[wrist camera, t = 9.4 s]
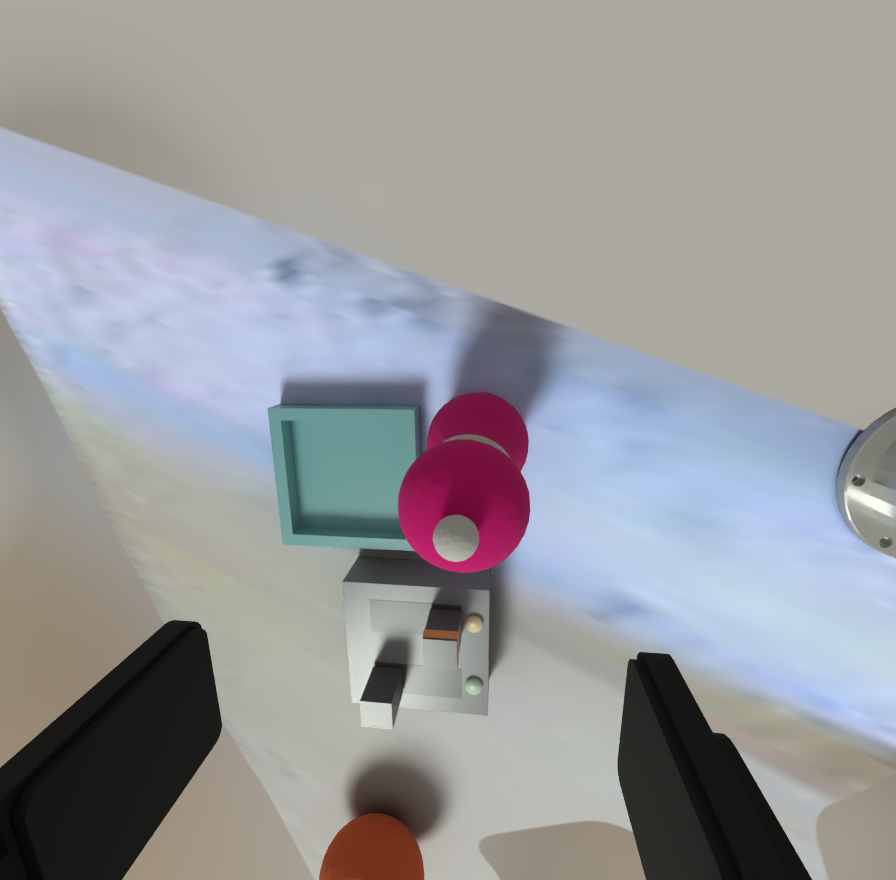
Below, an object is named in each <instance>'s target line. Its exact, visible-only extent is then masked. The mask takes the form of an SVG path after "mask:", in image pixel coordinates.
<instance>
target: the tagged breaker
mask: <svg viewBox="0 0 896 880" xmlns="http://www.w3.org/2000/svg"><path fill="white" fill-rule="evenodd" d="M460 644H461V610H448V609H433V608H430V612H429V616H428V620H427V623H426V627H425V629H424V632H423V636H422V645H423V667H430V668H442V669H454V670H457V668H458V664H459V651H460Z"/></svg>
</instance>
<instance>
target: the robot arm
mask: <svg viewBox="0 0 896 880" xmlns="http://www.w3.org/2000/svg"><path fill="white" fill-rule="evenodd" d="M836 498H837V504H838V509H839V511H840V514H841V516H842V518H843V520H844V522H845V524H846V525H847V526H848V528H849V529H850V530H851V531H852V533H853V534H854V535H856V536H857V537H858V538H859V539H860V540H862V541H863V542H864V543H866V544H867V545H869V546H871V547H872V548H874V549H876V550H877V551H879V552H881V553H884V554H886V555H889V556H891V557H894V558H896V408H895V409H893V410H891V411H889V412H887V413H886V414H884V415H883V416H881V417H880V418H879V419H877V420H876V421H874V422H873V423H872V424H871V425H870V426H869V427H868V428H866V429H865V430H864V431H863V432H862V433H861V434H860V435H859V436H858V438H857V439H856V440H855V442H854V443H853V444H852V446H851V447H850V448H849V450H848V452H847V454H846V456H845V458H844V460H843V462H842V464H841V466H840V470H839V473H838V477H837V484H836ZM221 728H222V721H221V715H220V709H219V703H218V697H217V691H216V685H215V679H214V673H213V668H212V662H211V656H210V650H209V644H208V638H207V633H206V631H205V630H203V629H202V627H201V625H200V624H199V623H198V622H192V621H178V620H173V621H169V622H168V623H166V624H165V625H164V626H162V627H161V628H160V629H159V630H158V631H157V632H156V633H154V634H153V635H152V636H151V637H150V638H149V639H148V640H146V641H145V642H144V643H143V644H142V645H141V646H140V647H138V648H137V649H136V650H135V651H134V652H133V653H132V654H130V655H129V656H128V657H127V658H126V659H125V660H124V661H122V662H121V663H120V664H119V665H118V666H117V667H115V668H114V669H113V670H112V671H111V672H110V673H109V674H107V675H106V676H105V677H104V678H103V679H102V680H101V681H100V682H98V683H97V684H96V685H95V686H94V687H93V688H92V689H90V690H89V691H88V692H87V693H86V694H85V695H83V696H82V697H81V698H80V699H79V700H78V701H76V702H75V703H74V704H73V705H72V706H71V707H70V708H68V709H67V710H66V711H65V712H64V713H63V714H62V715H60V716H59V717H58V718H57V719H56V720H55V721H53V722H52V723H51V724H50V725H49V726H48V727H47V728H45V729H44V730H43V731H42V732H41V733H40V734H39V735H38V736H36V737H35V738H34V739H33V740H32V741H31V742H29V743H28V744H27V745H26V746H25V747H24V748H23V749H21V750H20V751H19V752H18V753H17V754H16V755H14V756H13V757H12V758H11V759H10V760H9V761H8V762H7V763H5V764H4V765H3V766H2V767H1V768H0V880H122V879H123V877H124V876H125V874H126V873H127V871H128V870H129V869H130V867H131V866H132V864H133V863H134V861H135V860H136V858H137V857H138V855H139V854H140V852H141V851H142V850H143V848H144V847H145V845H146V844H147V842H148V841H149V839H150V838H151V837H152V835H153V834H154V832H155V831H156V829H157V828H158V826H159V825H160V824H161V822H162V821H163V819H164V818H165V816H166V815H167V813H168V812H169V811H170V809H171V808H172V806H173V805H174V803H175V802H176V800H177V799H178V797H179V796H180V794H181V793H182V792H183V790H184V789H185V787H186V786H187V784H188V783H189V781H190V780H191V779H192V777H193V776H194V774H195V773H196V771H197V770H198V768H199V767H200V766H201V764H202V763H203V761H204V759H205V758H206V756H207V755H208V754H209V752H210V751H211V750H212V748H213V747H214V745H215V744H216V742H217V740H218V738H219V736H220V732H221ZM618 775H619V781H620V785H621V789H622V793H623V796H624V800H625V804H626V807H627V811H628V815H629V818H630V822H631V826H632V829H633V833H634V836H635V840H636V844H637V847H638V851H639V855H640V858H641V862H642V866H643V870H644V873H645V877H646V880H812V879H811V877H810V875H809V874H808V872H807V870H806V868H805V867H804V865H803V863H802V861H801V860H800V858H799V856H798V854H797V853H796V851H795V849H794V848H793V846H792V844H791V842H790V841H789V839H788V837H787V835H786V834H785V832H784V830H783V828H782V827H781V825H780V823H779V822H778V820H777V818H776V816H775V815H774V813H773V811H772V809H771V808H770V806H769V804H768V802H767V801H766V799H765V797H764V796H763V794H762V792H761V790H760V789H759V787H758V785H757V783H756V782H755V780H754V778H753V776H752V775H751V773H750V771H749V770H748V768H747V766H746V764H745V763H744V761H743V759H742V757H741V756H740V754H739V752H738V751H737V749H736V747H735V746H734V744H733V743H732V741H731V740H730V739H729V738H728V737H727V736H726V735H725V734H721V733H713V732H712V730H711V728H710V727H709V725H708V723H707V721H706V719H705V717H704V716H703V714H702V712H701V710H700V708H699V706H698V704H697V703H696V701H695V699H694V697H693V695H692V693H691V692H690V690H689V688H688V686H687V684H686V682H685V680H684V679H683V677H682V675H681V673H680V671H679V669H678V667H677V666H676V664H675V662H674V660H673V659H672V657H671V656H670V655H669V654H660V653H646V652H640V653H639V654H638V655H637V660H635V659H630V660H629V662H628V668H627V678H626V687H625V696H624V706H623V715H622V725H621V734H620V744H619V753H618Z"/></svg>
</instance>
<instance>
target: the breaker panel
mask: <svg viewBox="0 0 896 880" xmlns="http://www.w3.org/2000/svg"><path fill="white" fill-rule="evenodd" d="M490 576H491V568H489V569H486V570H482V571H478V572H471V573H459V572H452V571H448V570H445V569H441V568H439V567H437V566H435V565H432V564H430V563H429V562H427V561H419V560H401V559H382V558H363V557H358V558H357V560H356V562H355V563H354V565H353V566H352V568H351V569H350V571H349V572H348V574H347V575H346V577H345V579H344V580H343V594H344V607H345V620H346V633H347V646H348V659H349V672H350V685H351V698H352V702H353V703H360V699H361V697H362V694H363V692H364V689H365V686H366V684H367V681H368V679H369V676H370V674H371V671H372V668H373V666H378V667H389V668H401V669H402V679H403V694H402V698H401V701H400V705H399V707H405V708H415V709H425V710H436V711H446V712H457V713H467V714H477V715H488V691H489V643H490ZM430 608H433V609H448V610H461V644H460V651H459V664H458V668H457V670H454V669H442V668H430V667H423V645H422V636H423V632H424V629H425V627H426V623H427V620H428V616H429V612H430Z"/></svg>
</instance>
